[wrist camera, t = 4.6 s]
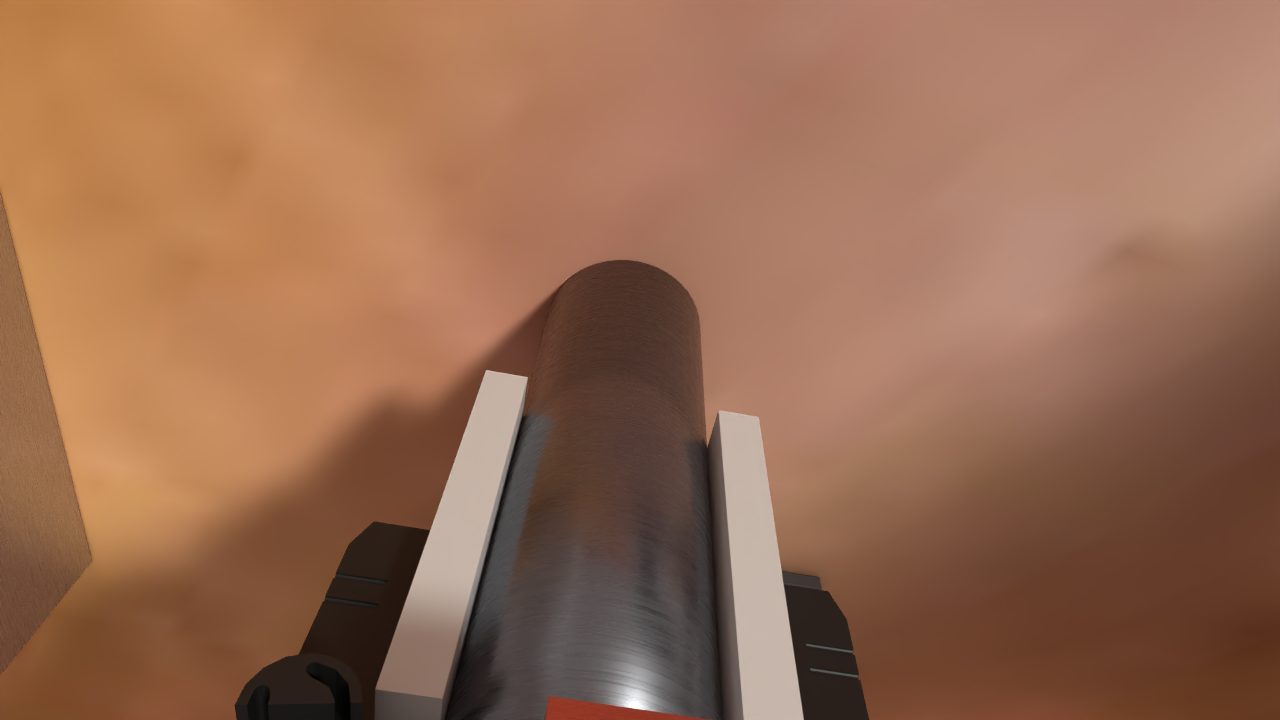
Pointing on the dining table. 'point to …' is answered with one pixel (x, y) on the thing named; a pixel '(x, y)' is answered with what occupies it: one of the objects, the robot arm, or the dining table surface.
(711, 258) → the dining table surface
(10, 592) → the block
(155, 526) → the dining table surface
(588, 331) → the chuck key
